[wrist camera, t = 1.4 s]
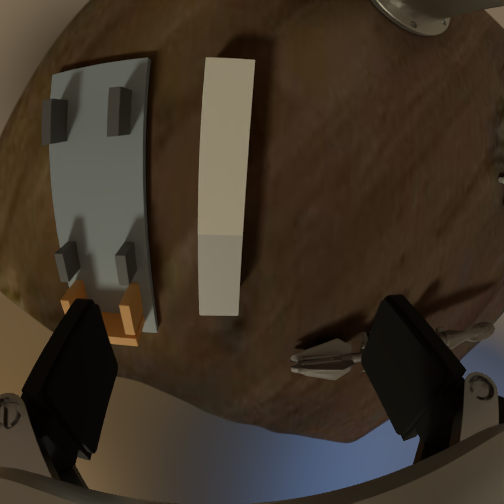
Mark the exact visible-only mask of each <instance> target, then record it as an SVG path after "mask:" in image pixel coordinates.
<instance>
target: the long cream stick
mask: <svg viewBox="0 0 504 504" xmlns="http://www.w3.org/2000/svg"><path fill="white" fill-rule="evenodd" d="M254 69H255V60H250V59H235V58H206V63H205V74H204V87H203V100H202V116H201V133H200V156H199V188H198V278H199V311H200V315H219V316H238V308H239V290H240V273H241V256H242V240H243V224H244V208H245V193H246V178H247V163H248V149H249V135H250V121H251V108H252V95H253V82H254Z"/></svg>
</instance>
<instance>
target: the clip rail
mask: <svg viewBox="0 0 504 504" xmlns="http://www.w3.org/2000/svg"><path fill="white" fill-rule="evenodd" d="M150 64H151V60H150V59H149V58H139V59H131V60H123V61H116V62H109V63H103V64H98V65H93V66H88V67H83V68H78V69H74V70H70V71H65V72H62V73H58V74H54V75H52V85H51V97H50V99H48V100H44V101H43V108H42V146H43V145H49V153H50V173H51V186H52V196H53V205H54V213H55V220H56V227H57V233H58V239H59V244H60V249H59V250H58V251H57V252H56V253H55V259H56V263H57V267H58V272H59V276H60V280H61V282H68V285H69V289H68V291H67V292H66V293H65V295H64V296H63V297H62V299H61V303H62V307H63V310H64V313H65V314H66V312H67V311H68V309H69V308H70V306H71V305H72V303H73V302H74V300H75V299H77V298H81V299H92V300H93V301H94V302H95V304H98V305H99V307H100V310H101V314H102V318H103V321H104V324H105V328H106V331H107V334H108V337H109V341H110V344H119V345H129V346H138V344H139V340H140V337H141V334H142V332H153V333H157V331H158V321H157V314H156V307H155V300H154V292H153V283H152V274H151V264H150V253H149V240H148V225H147V206H146V118H147V100H148V86H149V74H150Z"/></svg>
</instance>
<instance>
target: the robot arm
mask: <svg viewBox="0 0 504 504" xmlns="http://www.w3.org/2000/svg"><path fill="white" fill-rule="evenodd" d="M371 1H372V2H373V4H374V5H375V6H376V7H377V8H378V9H379V10H380V11H381V12H382V13H383V14H384V15H385V16H386V17H387V18H389V19H390V20H391V21H392V22H394V23H395V24H397V25H398V26H400V27H401V28H403V29H405V30H407V31H409V32H411V33H414V34H417V35H420V36H434V35H438V34H441V33H442V32H444V31H445V30H446V29H447V28H448V26H449V22H450V17H453V16H457V15H461V14H465V13H470V12H474V11H479V10H484V9H488V8H494V7H500V6H504V0H371ZM361 363H362V366H363V368H364V370H365V372H366V374H367V375H368V377H369V379H370V381H371V383H372V385H373V387H374V389H375V391H376V393H377V395H378V397H379V399H380V401H381V403H382V405H383V407H384V409H385V411H386V413H387V415H388V417H389V419H390V421H391V423H392V425H393V427H394V429H395V431H396V433H397V434H399V435H401V437H402V439H403V441H405V440H408V439H411V438H413V437H416V436H417V434H418V435H419V437H420V441H419V445H418V449H417V452H416V455H415V459H414V462H413V465H411V466H408V467H406V468H403V469H401V470H398V471H396V472H393V473H390V474H388V475H385V476H382V477H379V478H376V479H373V480H370V481H367V482H364V483H361V484H357V485H354V486H351V487H346V488H343V489H339V490H335V491H331V492H326V493H322V494H317V495H312V496H307V497H301V498H296V499H289V500H282V501H274V502H264V503H253V504H504V398H503V397H500V396H498V392H497V387H496V385H495V383H494V382H493V381H492V379H491V378H490V377H488V376H487V375H485V374H483V373H479V372H473V373H470V374H469V375H468V376H467V377H466V378H465V380H464V378H463V377H462V376H463V375H464V373H465V371H466V369H465V368H464V366H463V365H462V364H461V363H460V361H459V360H458V359H457V357H456V356H455V355H454V354H453V353H452V351H451V350H450V349H449V348H448V346H447V345H446V344H445V343H444V342H443V340H442V339H441V338H440V337H439V336H438V334H437V333H436V332H435V331H434V330H433V329H432V327H431V326H430V325H429V324H428V323H427V322H426V320H425V319H424V318H423V317H422V316H421V315H420V314H419V312H418V311H417V310H416V309H415V308H414V307H413V306H412V305H411V304H410V302H409V301H408V300H407V299H406V298H405V297H404V296H403V295H389V296H386V297H385V299H384V300H383V301H381V303H380V306H379V309H378V312H377V315H376V318H375V321H374V324H373V327H372V329H371V332H370V335H369V338H368V340H367V343H366V346H365V348H364V351H363V353H362V356H361ZM117 372H118V365H117V361H116V358H115V355H114V353H113V350H112V347H111V344H110V341H109V337H108V334H107V331H106V328H105V324H104V321H103V318H102V314H101V310H100V307H99V305H98V304H95V302H94V301H93V300H92V299H81V298H77V299H75V300H74V302H73V303H72V305H71V306H70V308H69V309H68V311H67V312H66V314H65V315H64V317H63V318H62V320H61V321H60V323H59V325H58V326H57V328H56V329H55V331H54V333H53V334H52V336H51V338H50V339H49V341H48V343H47V344H46V346H45V348H44V349H43V351H42V353H41V355H40V356H39V358H38V360H37V362H36V364H35V365H34V367H33V369H32V371H31V373H30V375H29V377H28V379H27V381H26V382H25V384H24V386H23V388H22V392H23V393H22V396H21V398H20V397H19V396H18V395H16V394H13V393H5V394H1V395H0V504H177V503H165V502H156V501H148V500H141V499H135V498H129V497H124V496H118V495H113V494H108V493H104V492H100V491H95V490H91V489H89V488H88V487H87V485H86V483H85V481H84V480H83V478H82V476H81V475H80V473H79V471H78V469H77V467H76V465H75V463H76V459H77V457H79V458H83V459H87V460H90V459H91V454H92V453H95V452H96V450H97V447H98V442H99V438H100V433H101V430H102V425H103V421H104V418H105V414H106V410H107V407H108V403H109V399H110V396H111V392H112V389H113V385H114V382H115V379H116V375H117Z"/></svg>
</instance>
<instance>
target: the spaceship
mask: <svg viewBox="0 0 504 504" xmlns="http://www.w3.org/2000/svg"><path fill="white" fill-rule="evenodd" d="M494 329H495V328H494V326H493V325H492V324H491V323H488V322H481V323H478V324H474V325H470V326H469V327H468V328H467V329H466V330H465V331H458V330H447V331H445V330H444V327H437V329H436V333H437V334H438V336H439V337H440V338H441V339H442V340H443V342H444V343H445V344H446V345H447V346H448V348H449V349H450V350H451V349H453V348H454V347H456V346H457V345H459V344H460V343H462V342H463V341H472V342H477V341H480V340H483V339H486V338H488V337H489V336H491V335H492V334H493V332H494ZM362 337H363V344H364V345H362V346H363V347H362V349H361V351H360V352H359V353H352V346H351V345H350V344H348V343H346V342H344V341H342V340H340V339H338V338H336V339H334V340H331V341H329V342H326V343H323V344H321V345H318V346H315V347H312V348H309V349H307V350H305V351H304V352H301V353H299V354H296V355H293V356H291V362H297V365H295V366H292V368H291V371H292V372H296V373H301V374H304V375H306V376H311V377H317V378H324V379H330V380H336V379H338V378H340V377H341V376H343V375H344V374H346V373H347V372H349V371H350V370H351V366H353V365H355V363H354V362H359V361H361V356H362V353H363V351H364V348H365V346H366V343H367V340H368V337H367V334H366V332H364V333H362ZM364 371H365V370H363V371H361V372H364Z"/></svg>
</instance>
